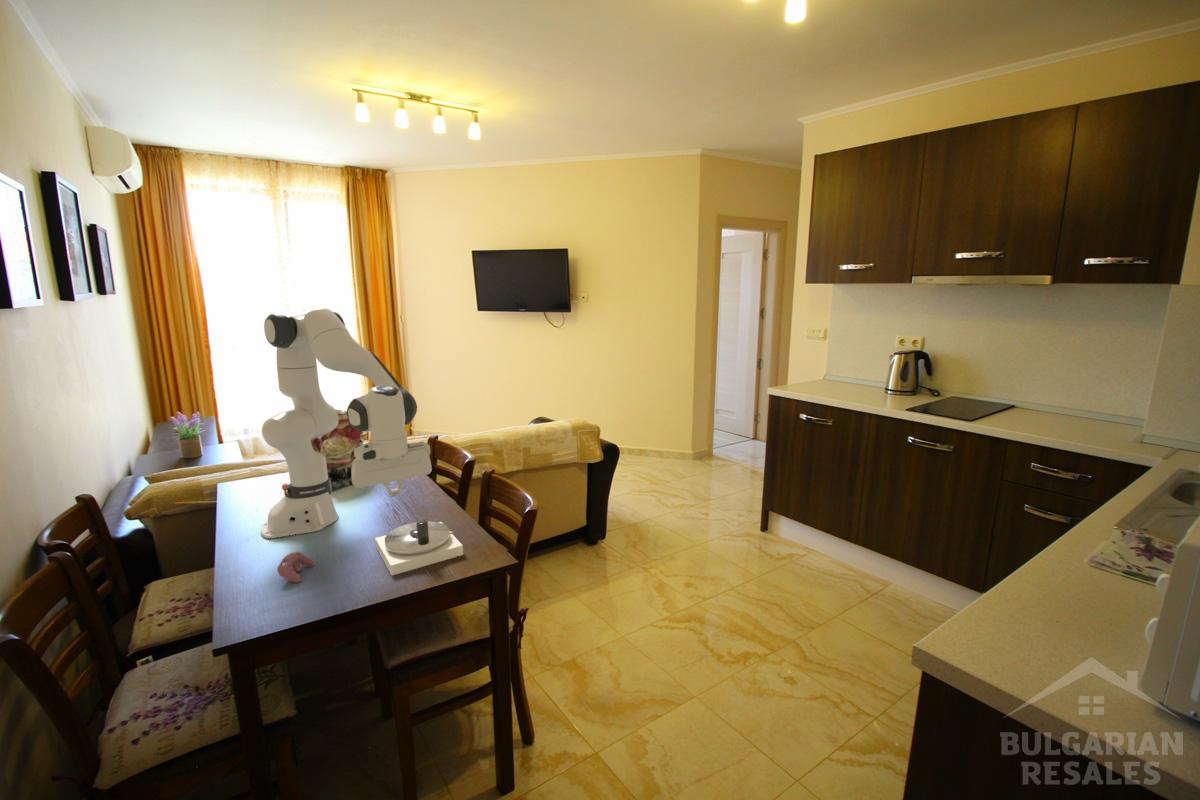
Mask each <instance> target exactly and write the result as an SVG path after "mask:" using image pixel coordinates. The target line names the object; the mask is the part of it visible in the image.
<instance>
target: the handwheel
mask: <svg viewBox="0 0 1200 800" xmlns="http://www.w3.org/2000/svg"><path fill="white" fill-rule="evenodd" d="M439 522H440V521H438V522H437V521H429V520H428V521H427V520H420V521H418V522H412V523H411V522H410V523H407V524H403V525H401V526H398V527H396V528H394V529H392V530H391V531H389V532H388V533H387V534H385V535H386V537H385V548H386V550H387V551H388V552H390V553H392V554H396V555H405V556H406V555H418V554H423V553H427V552H431V551H433V550H436V549H438V548H440V547H442V546H443V545H444V544H446V543H447V542H448V540H449V538H450V535H449V531H450V528H449V526H448V525H446V524H445V523H443V522H442V523H443V524H442V523H439Z"/></svg>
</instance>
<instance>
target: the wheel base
mask: <svg viewBox="0 0 1200 800" xmlns="http://www.w3.org/2000/svg"><path fill="white" fill-rule="evenodd" d="M438 522H439V523H442V524H444V523H443V522H442V521H438ZM386 535H387V534H385V535H382V536H378V537H375V538H374V541H375V548H376V550H377V551H379V552H378V553H380V554H379V555H380V557H381V558H382V561H383V562H385V563H384V564H385V566H386V568H387V569H388V572H389V571H390V572H389V573H390V575H391V576H396V575H399V574H403V573H407V572H410V571H413V570H415V569H419V568H423V567H425V566H430V565H433V564H437V563H439V562H440V563H441V562H443V561H446V560H450V559H453V558H458V557H461V556H464V545H463V544H462V543H461V542H460V540H458V538H456V536H455V535H454V532H453V531H452V530H451V531H450V530H449V535H450V538H449V540H448V542H447V543H446V544H444V545H443V546H442V547H440V548H438V549H436V550H433V551H431V552H427V553H423V554H418V555H406V556H405V555H396V554H392V553H390V552H388V551H387V550H386V548H385V537H386ZM457 556H458V557H457Z"/></svg>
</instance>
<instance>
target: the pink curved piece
mask: <svg viewBox="0 0 1200 800" xmlns="http://www.w3.org/2000/svg"><path fill="white" fill-rule="evenodd" d="M315 565H316V564H315V560H314V559H312V558H311V557H309V556H307V555H305V554H304V553H302V552H300V551H297V550H296V551H295V552H291V553H289V554H287V555H286V556H284V557H283V558H282V560H281V561H280V563H279V565H278V566H277V568H276V569H277V570H276V571H277V573H278V575H279V577H283V578H284V579H286V580H287V581H290V582H291V583H295V584H297V583H298V582H299V583H301V581H302V577H301V575H299V574H298V573H299V572H300V571H302V566H304V567H307V568H312V566H313V567H314V566H315ZM296 572H297V573H296Z"/></svg>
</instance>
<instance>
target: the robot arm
mask: <svg viewBox="0 0 1200 800" xmlns="http://www.w3.org/2000/svg"><path fill="white" fill-rule="evenodd" d="M263 327H264V328H263V329H264V335H265V339H266V341H267V342H268V343H269V344H270V345H271V346H272V347H274V348H276V369H277V370H276V371H277V380H278V382H277V383H278V389H279V392H281V394H282V395H283V396H286V397H288V398H290V399H291V400H292V402H293V405H294V409H292V410H287V411H283V412H280V413H277V414H275V415H273V416H271V417H270V418H268V419H267V420H265V421H264V422H263V423H262V426H261V435H262V439H263V440H264V441H265V443H267V444H268V446H270V447H271V448H274V449H276V450H278V452H280V454H282V456H283V458H284V460H285V463H286V464H287V469H288V475H289V476H288V477H289V481H290V483H286V482H284V483H283V484H282V485H281V490H283V493H284V497H282V499H280V500H279V501H278V502H277V503H276V504H274V505H273V506H272V507H271V508H270V510H269V512H268V515H267V521H266V522H264V523H263V524H262V525H261V528H260V533H261V537H263V538H265V539H268V538H269V539H270V538H271V539H277V537H278V538H283V536H284V537H290V536H295V534H296V535H302V534H307V533H312V532H313V533H314V532H320V531H322V530H323V529H324V528H325V527H327V526H329V525H331V524H333V523H334V522H336V521H337V520H338V518H339V514H338V512H337V509H336V508H335V505H334V502H333V501H334V500H333V498H332V490H331V482H332V481H330V479H329V477H328V473H327V464H326V458H325V456H324V455H323V454H321V453H320V452H317V451H314V449H313V447H312V445H311V440H312V439H315V438H318V437H320V436H323V435H326V434H327V433H329V432H331V431H332V430H333V429H335V428H336V427H337V425H338V422H339V417H338V413H337V411H336V410H337V409H336V408H335V407H333V406H332V405H330V404H329V403H328V402H327V401H326V400H325V398H324V397H323V394H322V392H321V389H320V384H319V383H320V382H319V375H318V364H317V362H319V363H320V365H321V366H323V367H325V368H326V369H328V370H331V371H334V372H342V373H350V374H356V375H360V376H363V377H365V378H367V379H369V380H371V382H372V383H373V384H374V385H375V386H373V387H371V388H370V389H368V392H367V393H366V394H364V395H362V396H358V397H356V398H354V399H352V400H351V401H350V402H349V405H348V406H347V408H346V411H347V417H348V422H349V424H350V426H352V427H353V428H354V429H356V430H358V431H360V432H363V433H364V432H371V437H370V438H371V441H367V442H366V443H363V445H362V446H359V447H357V448H355V449H354V455H355V457H356V458H355V459H354V460H353V462H352V469H351V478H350V479H352V484H353V485H352V486H353V487H355V488H356V489H361V488H367V487H371V486H372V487H373V486H376V485H381V484H382V485H383V486H384V488H385V489H386V490H387V491H388V492H387V493H388V497H389V498H394V497H399V496H401V495H402V488H403V487H404V485H405V480H407V479H413V478H416V477H422V476H426V475H429V474H431V472H432V470H433V468H432V467H433V466H432V461H431V457H430V455H431V446H430V444H429V443H428V442H425V441H419V442H412V443H408V433H407V430H406V428H405V426H406V425H410V423H411V422H412V421H414V418H415V417H416V414H417V412H418V404H417V401H416V399H415V398H414V396H413V395H412V394H411V393H410V391H408V390H407V389H405V387H404V386H402V384H400V383H399V381H398V380H397V379H396V377H395V376H394V375H393V374H392V373H391V371H390V370H389V369H388V367H387V366H385V364H384V363H383V362H382V361H381V359H380V358H379V357H378V355H376V354H375V353H374V352H373V351H370V350H369V349H367V348H365V347H364V346H362V345H361V344H360V343H358V342H357V341H356V339H354V338H353V337H352V335H351V334H350V332H349V330H348V329H347V327H346V324H345V321H344V319H343V317H342V316H341V315H340V313H339V312H335V311H333V310H331V309H329V308H325V307H317V308H312V309H304V310H295V311H287V312H283V311H277V312H273V313H270V314H269V315H268V316H267V317H266V318H265V320H264V324H263ZM335 409H336V410H335ZM392 482H398V484H397V486H396V487H395V488H390V487H389V486H391V483H392ZM289 535H290V536H289Z"/></svg>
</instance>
